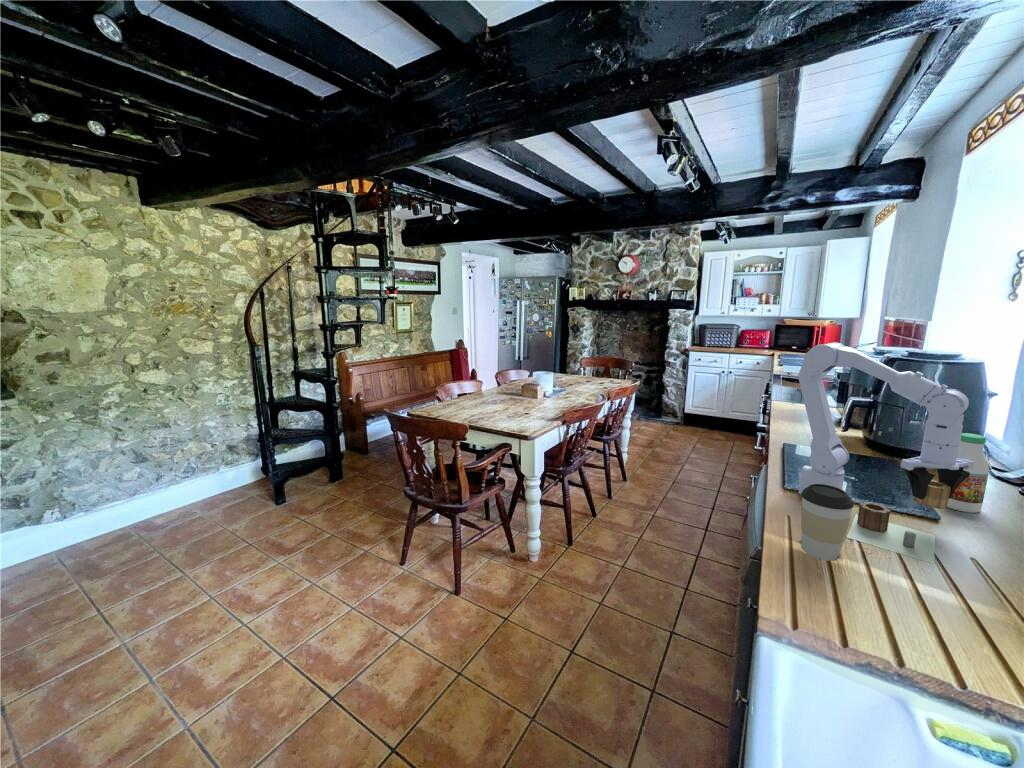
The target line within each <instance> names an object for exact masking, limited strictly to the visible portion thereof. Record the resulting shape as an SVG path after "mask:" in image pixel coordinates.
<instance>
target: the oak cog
mask: <svg viewBox="0 0 1024 768" xmlns="http://www.w3.org/2000/svg"><path fill="white" fill-rule="evenodd" d="M950 489H951V487H950V486H948V484H945V483H941V482H939V481H937V480H935V479H932V480H931V482H930V483H929V485H928V488H927V492H926V496H925V498H924V499H919V498H917V497H914V496H913V497H914V498H913V501H914V502H916V504H919V505H922V506H924V507H927V508H929V509H938V510H944V509H947V508H948V507H947V505H948V499H949V494H950Z"/></svg>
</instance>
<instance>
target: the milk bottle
mask: <svg viewBox="0 0 1024 768" xmlns="http://www.w3.org/2000/svg"><path fill="white" fill-rule="evenodd" d="M986 442H987V438H986V437H985V436H983V435H981V434H976V433H969V432H962V434H961V439H960V444H959V449H958V454H957V458H961V459H968V460H971V461H974V465H973V469H965V468H964V471H967V472H969V473H970V476H969V477H968V478H967V479H965V480H964V481H963V482H962V483H961V484H960V485H959V486H958V487H957V489H956V490H955V491H954V493H953V495H952V496H951V498H950V499H948V505H947V508H949V509H952V510H955V511H959V512H964V513H971V514H973V513H976V514H977V513H980V511H981V510H982V507H983V503H984V498H985V495H986V489H987V484H988V478H989V472H990V470H989V469H990V467H989V463H988V462H989V461H988V460H987V457H986V455H985V453H984V446H986V445H985V444H986Z"/></svg>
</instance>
